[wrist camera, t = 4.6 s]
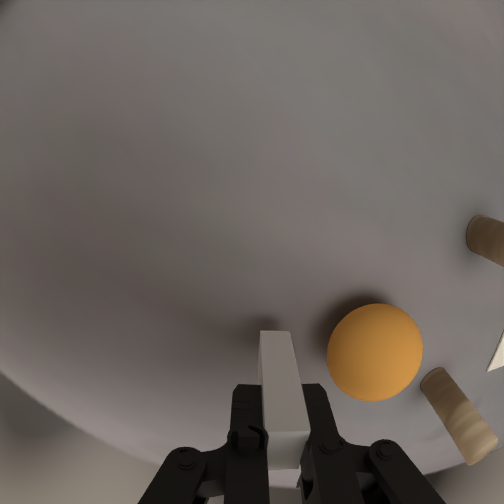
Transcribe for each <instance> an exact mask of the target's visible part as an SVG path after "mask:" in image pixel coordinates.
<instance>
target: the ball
mask: <svg viewBox="0 0 504 504" xmlns="http://www.w3.org/2000/svg"><path fill="white" fill-rule="evenodd" d="M422 354H423V343H422V337H421V334H420V331H419V329H418V327H417V325H416V323H415V322H414V320H413V319H412V318H411V317H410V316H409V315H408V314H407V313H405V312H404V311H403V310H401V309H399V308H397V307H395V306H392V305H388V304H381V303H378V304H369V305H365V306H362V307H359V308H357V309H355V310H353V311H352V312H350V313H349V314H347V315H346V316H345V317H344V318H343V319H342V320H341V321H340V322H339V323H338V325H337V326H336V327H335V329H334V331H333V333H332V335H331V337H330V340H329V343H328V348H327V365H328V369H329V372H330V375H331V377H332V379H333V381H334V382H335V384H336V385H337V386H338V387H339V388H340V389H341V390H342V391H343V392H344V393H346V394H348V395H349V396H351V397H353V398H355V399H359V400H364V401H379V400H384V399H387V398H390V397H392V396H394V395H396V394H398V393H399V392H400V391H402V390H403V389H404V388H405V387H407V386H408V384H409V383H410V382H411V381H412V380H413V378H414V377H415V375H416V373H417V372H418V369H419V367H420V364H421V360H422Z"/></svg>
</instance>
